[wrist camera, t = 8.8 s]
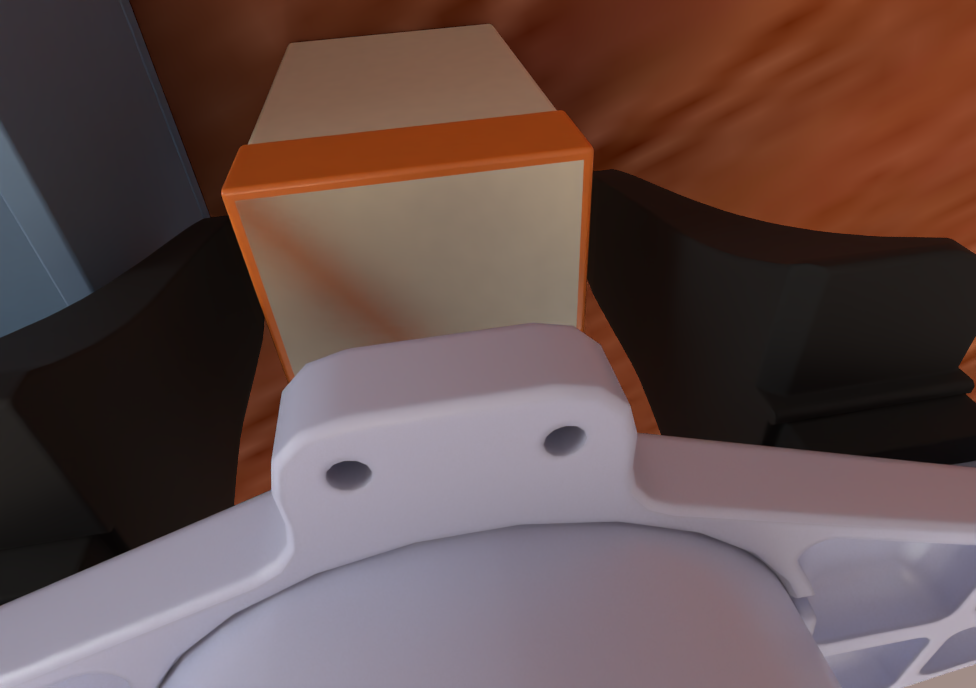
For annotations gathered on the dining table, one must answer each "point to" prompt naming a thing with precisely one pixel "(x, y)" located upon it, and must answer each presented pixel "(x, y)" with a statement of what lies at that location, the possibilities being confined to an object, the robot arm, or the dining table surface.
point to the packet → (409, 194)
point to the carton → (82, 155)
